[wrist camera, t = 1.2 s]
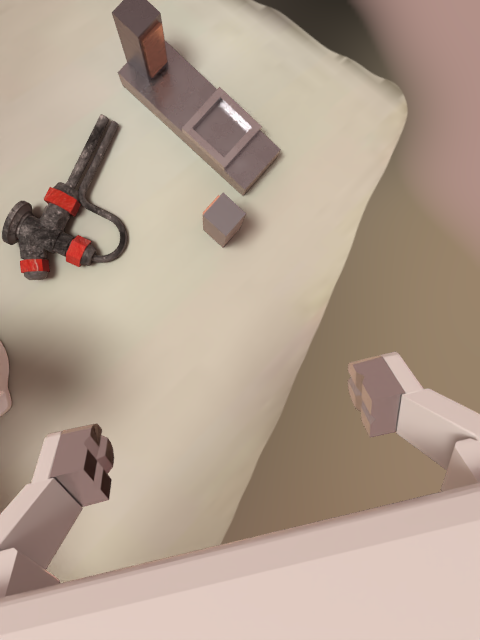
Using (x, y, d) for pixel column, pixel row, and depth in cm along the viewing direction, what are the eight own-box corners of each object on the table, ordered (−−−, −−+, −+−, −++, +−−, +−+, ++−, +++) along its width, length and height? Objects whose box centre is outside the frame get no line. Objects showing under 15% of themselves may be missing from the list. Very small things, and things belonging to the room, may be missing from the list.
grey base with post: (242, 195, 59) (252, 166, 47) (122, 85, 57) (100, 24, 45) (276, 157, 59) (294, 118, 47) (158, 46, 57) (145, -24, 45)
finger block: (222, 247, 59) (225, 236, 50) (201, 228, 58) (200, 213, 50) (240, 228, 59) (246, 213, 50) (218, 208, 59) (220, 190, 50)
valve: (98, 308, 59) (-2, 265, 56) (169, 161, 61) (77, 110, 58) (92, 309, 53) (-20, 260, 50) (171, 145, 55) (69, 86, 51)
